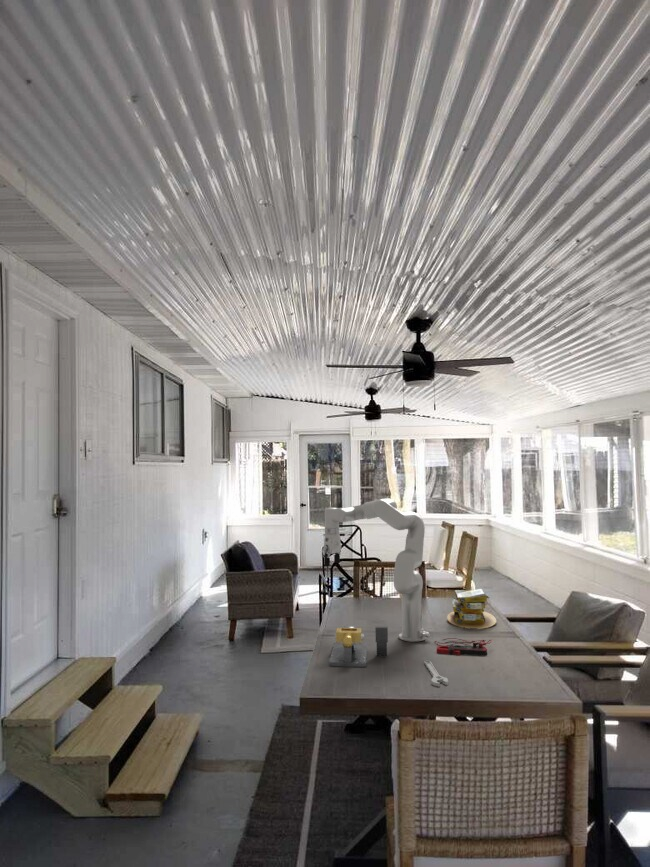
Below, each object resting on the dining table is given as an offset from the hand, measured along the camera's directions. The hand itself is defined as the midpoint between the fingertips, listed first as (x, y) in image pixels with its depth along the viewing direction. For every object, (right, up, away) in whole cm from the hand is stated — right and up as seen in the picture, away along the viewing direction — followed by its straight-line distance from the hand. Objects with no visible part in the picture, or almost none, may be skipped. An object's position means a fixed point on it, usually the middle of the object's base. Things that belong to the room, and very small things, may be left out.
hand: (332, 564), depth 288 cm
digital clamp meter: (+59, -29, -40) cm, 77 cm away
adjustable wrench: (+40, -27, -72) cm, 87 cm away
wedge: (+21, -28, -51) cm, 61 cm away
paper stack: (+73, -31, +1) cm, 80 cm away
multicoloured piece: (+7, -28, -51) cm, 59 cm away
